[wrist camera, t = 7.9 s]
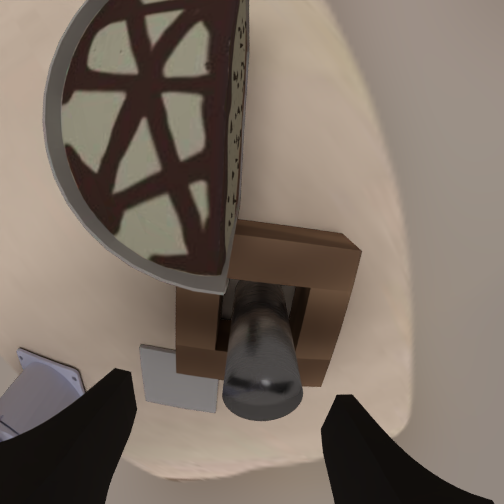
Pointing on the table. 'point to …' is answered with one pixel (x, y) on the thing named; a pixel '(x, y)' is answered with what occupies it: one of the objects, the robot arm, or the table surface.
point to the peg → (261, 355)
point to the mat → (175, 382)
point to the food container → (153, 131)
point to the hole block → (275, 272)
